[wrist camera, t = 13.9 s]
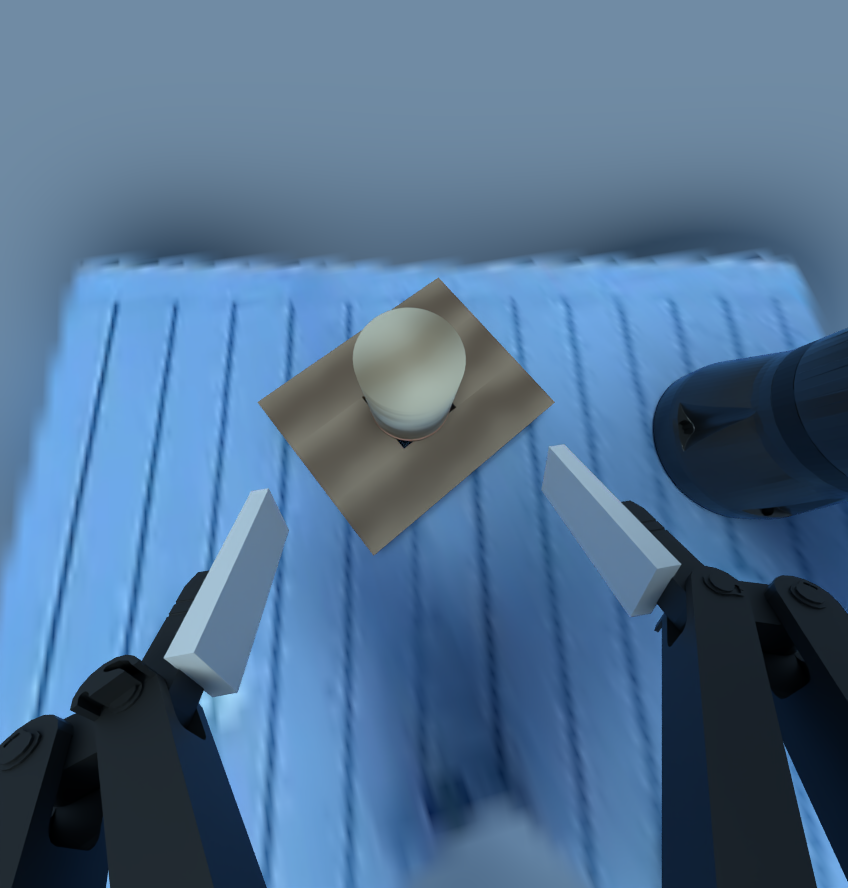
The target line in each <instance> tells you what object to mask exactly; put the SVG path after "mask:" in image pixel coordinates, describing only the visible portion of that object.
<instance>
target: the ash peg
mask: <svg viewBox="0 0 848 888" xmlns="http://www.w3.org/2000/svg"><path fill="white" fill-rule="evenodd" d="M465 365H466V356H465V349H464V346H463V343H462V341H461V338H460V336H459V335H458V333H457V332H456V330H455V329H454V328H453V327H452V326H451V325H450V324H449V323H448V322H447V321H446V320H445V319H443V318H442V317H440V316H439V315H437V314H435V313H432V312H430V311H427V310H424V309H419V308H399V309H394V310H390V311H387V312H385V313H383V314H381V315H379V316H377V317H376V318H374V319H373V320H372V321H370V322H369V323H368V324H367V325H366V326H365V327H364V329H363V330H362V331H361V333H360V335H359V336H358V338H357V341H356V343H355V347H354V351H353V367H354V371H355V374H356V377H357V380H358V382H359V385H360V387H361V389H362V392H363V394H364V396H365V399H366V401H367V403H368V406H369V408H370V411H371V414H372V417H373V419H374V421H375V422H376V424H377V425H378V427H379V428H380V429H381V430H382V431H384V432H385V433H386V434H388V435H389V436H391V437H393V438H396V439H399V440H404V441H417V440H422V439H425V438H427V437H429V436H431V435H433V434H434V433H436V432H437V431H438V430H439V429H440V428H441V427H442V426H443V424H444V423H445V421H446V419H447V417H448V415H449V411H450V408H451V405H452V403H453V400H454V398H455V395H456V393H457V390H458V388H459V385H460V383H461V380H462V378H463V374H464V371H465Z"/></svg>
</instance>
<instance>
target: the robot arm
mask: <svg viewBox="0 0 848 888" xmlns="http://www.w3.org/2000/svg"><path fill="white" fill-rule="evenodd" d="M654 438H655V444H656V448H657V451H658V454H659V457H660V459H661V462H662V464H663V466H664V468H665V470H666V471H667V473H668V474H669V476H670V477H671V479H672V480H673V481H674V483H675V484H676V485H677V486H678V487H679V488H680V489H681V490H682V491H683V492H684V493H685V494H686V495H687V496H688V497H689V498H691V499H692V500H693V501H694V502H696V503H697V504H699V505H701V506H702V507H704V508H706V509H708V510H710V511H712V512H715V513H717V514H720V515H723V516H727V517H733V518H743V519H777V518H784V517H789V516H792V515H797V514H800V513H804V512H808V511H812V510H815V509H819V508H823V507H827V506H831V505H835V504H838V503H842V502H846V501H848V328H846V329H844V330H841V331H838V332H836V333H833V334H831V335H829V336H826V337H824V338H822V339H819V340H817V341H814V342H812V343H809V344H807V345H804V346H802V347H799V348H797V349H794V350H791V351H786V352H780V353H774V354H768V355H761V356H755V357H749V358H743V359H736V360H730V361H724V362H719V363H715V364H711V365H708V366H706V367H703V368H701V369H699V370H697V371H695V372H692V373H690V374H688V375H686V376H684V377H682V378H680V379H679V380H677V381H676V382H675V383H673V384H672V385H671V386H670V387H669V388H668V389H667V390H666V392H665V393H664V395H663V396H662V398H661V400H660V402H659V404H658V406H657V409H656V413H655V418H654ZM542 491H543V493H544V494H545V496H546V497H547V499H548V500H549V501H550V503H551V504H552V506H553V507H554V509H555V510H556V511H557V513H558V514H559V516H560V517H561V519H562V520H563V522H564V523H565V524H566V526H567V527H568V529H569V530H570V532H571V533H572V535H573V536H574V537H575V539H576V540H577V542H578V543H579V545H580V546H581V548H582V549H583V550H584V552H585V553H586V555H587V556H588V558H589V559H590V560H591V562H592V563H593V565H594V566H595V568H596V569H597V571H598V572H599V573H600V575H601V576H602V578H603V579H604V581H605V582H606V584H607V585H608V586H609V588H610V589H611V591H612V592H613V594H614V595H615V597H616V598H617V599H618V601H619V602H620V604H621V605H622V607H623V608H624V610H625V611H626V612H627V614H628V615H629V617H635V616H640V615H645V614H651V613H652V611H653V609H654V608H655V606H656V604H658V605H659V607H660V608H661V609H662V611H663V612H664V614H663V615H662V617H661V618H660V620H659V622H658V623H657V625H656V627H655V630H654V631H657V632H659V631H660V629H661V628H662V888H817V885H816V881H815V877H814V872H813V868H812V864H811V860H810V855H809V851H808V847H807V842H806V838H805V834H804V830H803V825H802V821H801V817H800V812H799V808H798V804H797V800H796V795H795V791H794V787H793V782H792V778H791V774H790V770H789V765H788V761H787V757H786V752H785V748H784V745H785V747H786V749H787V751H788V753H789V755H790V758H791V760H792V762H793V764H794V766H795V768H796V771H797V773H798V775H799V777H800V779H801V781H802V784H803V786H804V788H805V790H806V792H807V794H808V797H809V799H810V801H811V803H812V805H813V807H814V810H815V812H816V814H817V816H818V818H819V820H820V823H821V825H822V827H823V829H824V831H825V833H826V836H827V838H828V840H829V842H830V844H831V846H832V849H833V851H834V853H835V855H836V857H837V859H838V862H839V864H840V866H841V868H842V870H843V872H844V875H845V877H846V879H847V881H848V614H847V613H846V611H845V610H844V609H843V608H842V606H841V605H840V604H839V603H838V602H837V601H836V600H835V599H834V598H833V597H832V596H831V595H830V594H829V593H828V592H826V591H825V590H823V589H822V588H820V587H819V586H817V585H815V584H813V583H811V582H809V581H807V580H804V579H801V578H798V577H794V576H784V575H782V576H779V577H777V578H775V579H774V580H773V581H772V583H771V584H770V585H767V584H759V583H751V582H743V581H738V580H737V579H735V578H734V577H732V576H731V575H729V574H728V573H726V572H724V571H721V570H719V569H717V568H713V567H708V566H704V565H703V564H702V563H701V562H700V561H698V560H697V559H696V558H695V557H694V556H693V555H692V554H691V553H690V552H689V551H688V550H687V549H686V548H685V547H684V546H683V545H682V544H681V543H680V542H679V541H678V540H677V539H675V538H674V537H673V536H672V535H671V534H670V533H669V532H668V531H667V530H665V529H664V527H663V526H662V525H661V524H660V523H659V522H658V521H657V522H656V520H655V518H654V517H653V516H651V515H650V514H649V513H648V512H647V511H646V510H645V509H644V508H642V507H640V506H639V505H637V504H635V503H634V502H632V501H624V502H620V501H619V500H618V499H617V498H616V497H615V496H614V495H613V494H612V493H611V492H610V491H609V490H608V489H607V488H606V487H605V486H604V485H603V484H602V482H601V481H600V480H599V479H598V478H597V477H596V476H595V475H594V474H593V473H592V472H591V471H590V470H589V469H588V468H587V467H586V466H585V465H584V464H583V463H582V462H581V461H580V460H579V459H578V458H577V457H576V456H575V455H574V454H573V453H572V452H571V451H570V450H569V449H568V448H567V447H566V446H565V445H564V444H563V445H556V446H550V447H549V449H548V455H547V461H546V466H545V472H544V478H543V484H542ZM288 531H289V529H288V527H287V525H286V523H285V521H284V519H283V517H282V515H281V513H280V511H279V509H278V507H277V505H276V503H275V501H274V499H273V496H272V494H271V492H270V490H269V489H262V490H255V491H251V492H250V494H249V496H248V498H247V500H246V502H245V504H244V506H243V508H242V510H241V511H240V513H239V515H238V517H237V519H236V521H235V523H234V525H233V527H232V529H231V531H230V532H229V534H228V536H227V538H226V540H225V542H224V544H223V546H222V548H221V550H220V551H219V553H218V555H217V557H216V559H215V561H214V563H213V565H212V567H211V569H210V570H209V571H203V572H198V573H197V574H196V575H195V576H194V577H193V578H192V579H191V580H190V581H189V582H188V583H187V584H186V586H185V587H184V588H183V590H182V592H181V594H180V595H179V597H178V599H177V601H176V604H175V605H174V606H173V608H172V609H171V611H170V613H169V617H167V618H166V620H165V622H164V623H163V625H162V627H161V629H160V630H159V632H158V634H157V636H156V637H155V639H154V641H153V642H152V644H151V646H150V648H149V649H148V651H147V653H146V655H145V656H144V658H143V660H142V661H141V660H139V659H138V658H137V657H135V656H132V655H123V656H120V657H116V658H114V659H112V660H111V661H109V662H107V663H105V664H103V665H102V666H101V667H100V668H98V669H97V670H96V671H95V672H94V673H92V674H91V675H90V676H89V677H88V678H87V680H86V681H85V682H84V683H83V684H82V685H81V686H80V688H79V689H78V691H77V693H76V694H75V696H74V698H73V700H72V704H71V708H70V710H71V711H73V712H75V714H73V715H71V716H69V717H67V718H65V719H62V718H59V717H57V716H55V715H43V716H40V717H38V718H36V719H33V720H31V721H29V722H28V723H26V724H25V725H23V726H22V727H20V728H19V729H17V730H16V731H15V732H14V733H13V734H12V735H11V736H9V737H8V738H7V739H6V740H5V741H4V742H3V743H2V744H1V745H0V888H106V883H107V875H108V871H109V881H110V888H267V887H266V884H265V881H264V879H263V876H262V873H261V870H260V867H259V865H258V862H257V859H256V856H255V853H254V851H253V848H252V845H251V842H250V840H249V837H248V834H247V831H246V828H245V826H244V823H243V820H242V817H241V814H240V812H239V809H238V806H237V803H236V800H235V798H234V795H233V792H232V789H231V786H230V784H229V781H228V778H227V775H226V773H225V770H224V767H223V764H222V761H221V759H220V756H219V753H218V750H217V747H216V745H215V742H214V739H213V736H212V733H211V731H210V728H209V725H208V722H207V719H206V717H205V714H204V711H203V708H202V707H201V706H200V704H199V701H200V698H201V695H202V693H203V690H204V691H205V692H207V693H208V694H209V695H210V696H212V697H216V696H222V695H227V694H232V693H237V692H238V690H239V686H240V683H241V680H242V677H243V674H244V671H245V667H246V664H247V661H248V658H249V655H250V652H251V648H252V645H253V642H254V639H255V636H256V633H257V629H258V626H259V623H260V620H261V617H262V614H263V610H264V607H265V604H266V601H267V598H268V595H269V591H270V588H271V585H272V582H273V579H274V575H275V572H276V569H277V566H278V563H279V560H280V556H281V553H282V550H283V547H284V544H285V541H286V537H287V534H288ZM783 742H784V744H783Z"/></svg>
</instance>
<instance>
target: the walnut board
mask: <svg viewBox="0 0 848 888" xmlns="http://www.w3.org/2000/svg"><path fill="white" fill-rule="evenodd" d="M399 308H419V309H424V310H427V311H430V312H432V313H435V314H437V315H439V316H440V317H442V318H443V319H445V320H446V321H447V322H448V323H449V324H450V325H451V326H452V327H453V328H454V329H455V330H456V332H457V333H458V335H459V336H460V338H461V341H462V343H463V346H464V349H465V356H466V365H465V371H464V374H463V378H462V380H461V383H460V385H459V388H458V390H457V393H456V395H455V398H454V400H453V403H452V405H451V408H450V411H449V415H448V417H447V419H446V421H445V423H444V424H443V426H442V427H441V428H440V429H439V430H438V431H437V432H436V433H434V434H433V435H431V436H429V437H427V438H425V439H422V440H417V441H413V442H412V443H411V444H409V445H408V446H407V447H406V448H403V447H402V446H401V444H400V443H399V442H398V441H397V439H396V438H393V437H391V436H389V435H388V434H386V433H385V432H384V431H382V430H381V429H380V428H379V427H378V425H377V424H376V422H375V421H374V419H373V417H372V414H371V411H370V408H369V406H368V403H367V401H366V399H365V396H364V394H363V392H362V389H361V387H360V385H359V382H358V380H357V377H356V374H355V371H354V367H353V351H354V347H355V343H356V341H357V338H358V336H359V335H360V333H361V331H360V332H359V333H357V334H356V335H354V336H353V337H351V338H350V339H349V340H347V341H346V342H344V343H343V344H341V345H340V346H338V347H337V348H335V349H334V350H333V351H331V352H330V353H328V354H327V355H325V356H324V357H322V358H321V359H320V360H318V361H317V362H315V363H314V364H312V365H311V366H309V367H308V368H306V369H305V370H304V371H302V372H301V373H299V374H298V375H296V376H295V377H293V378H292V379H291V380H289V381H288V382H286V383H285V384H283V385H282V386H280V387H279V388H277V389H276V390H275V391H273V392H272V393H270V394H269V395H267V396H266V397H264V398H263V399H261V400H260V401H259V402H258V403H259V405H260V406H261V407H262V409H263V410H264V411H265V413H266V414H267V415H268V417H269V418H270V419H271V421H272V422H273V423H274V425H275V426H276V427H277V429H278V430H279V431H280V433H281V434H282V435H283V436H284V438H285V439H286V440H287V442H288V443H289V444H290V446H291V447H292V448H293V450H294V451H295V452H296V454H297V455H298V456H299V458H300V459H301V460H302V462H303V463H304V464H305V466H306V467H307V468H308V470H309V471H310V472H311V473H312V475H313V476H314V477H315V479H316V480H317V481H318V483H319V484H320V485H321V487H322V488H323V489H324V491H325V492H326V493H327V495H328V496H329V497H330V499H331V500H332V501H333V503H334V504H335V505H336V507H337V508H338V509H339V510H340V512H341V513H342V514H343V516H344V517H345V518H346V520H347V521H348V522H349V524H350V525H351V526H352V528H353V529H354V530H355V532H356V533H357V534H358V536H359V537H360V538H361V540H362V541H363V542H364V544H365V545H366V546H367V547H368V549H369V550H370V551H371V553H372V554H373V555H375V554H376V553H377V552H379V551H380V550H381V549H382V548H383V547H385V546H386V545H387V544H388V543H389V542H390V541H392V540H393V539H394V538H395V537H396V536H398V535H399V534H400V533H401V532H402V531H403V530H405V529H406V528H407V527H408V526H409V525H411V524H412V523H413V522H414V521H415V520H416V519H418V518H419V517H420V516H421V515H422V514H424V513H425V512H426V511H427V510H428V509H429V508H431V507H432V506H433V505H434V504H435V503H437V502H438V501H439V500H440V499H441V498H442V497H444V496H445V495H446V494H447V493H448V492H450V491H451V490H452V489H453V488H454V487H455V486H457V485H458V484H459V483H460V482H461V481H463V480H464V479H465V478H466V477H467V476H468V475H470V474H471V473H472V472H473V471H474V470H476V469H477V468H478V467H479V466H480V465H481V464H483V463H484V462H485V461H486V460H487V459H489V458H490V457H491V456H492V455H493V454H494V453H496V452H497V451H498V450H499V449H500V448H501V447H503V446H504V445H505V444H506V443H507V442H509V441H510V440H511V439H512V438H513V437H514V436H516V435H517V434H518V433H519V432H520V431H522V430H523V429H524V428H525V427H526V426H527V425H529V424H530V423H531V422H532V421H533V420H535V419H536V418H537V417H538V416H539V415H540V414H542V413H543V412H544V411H545V410H546V409H548V408H549V407H550V406H551V405H552V404H553V403H555V402H554V401H553V400H552V399H551V398H550V397H549V396H548V395H547V393H546V392H545V391H544V390H543V389H542V388H541V387H540V386H539V385H538V384H537V383H536V382H535V381H534V380H533V378H532V377H531V376H530V375H529V374H528V373H527V372H526V371H525V370H524V369H523V368H522V367H521V366H520V365H519V363H518V362H517V361H516V360H515V359H514V358H513V357H512V356H511V355H510V354H509V353H508V352H507V351H506V350H505V348H504V347H503V346H502V345H501V344H500V343H499V342H498V341H497V340H496V339H495V338H494V337H493V336H492V335H491V333H490V332H489V331H488V330H487V329H486V328H485V327H484V326H483V325H482V324H481V323H480V322H479V321H478V319H477V318H476V317H475V316H474V315H473V314H472V313H471V312H470V311H469V310H468V309H467V308H466V307H465V306H464V304H463V303H462V302H461V301H460V300H459V299H458V298H457V297H456V296H455V295H454V294H453V293H452V292H451V291H450V289H449V288H448V287H447V286H446V285H445V284H444V283H443V282H442V281H441V280H440V279H439V278H437V279H436V280H434V281H433V282H431V283H430V284H428V285H427V286H425V287H424V288H422V289H421V290H420V291H418V292H417V293H415V294H414V295H412V296H411V297H409V298H408V299H407V300H405V301H404V302H402V303H401V304H399V305H398V306H396V307H395V308H393V309H392V310H394V309H399Z"/></svg>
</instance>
